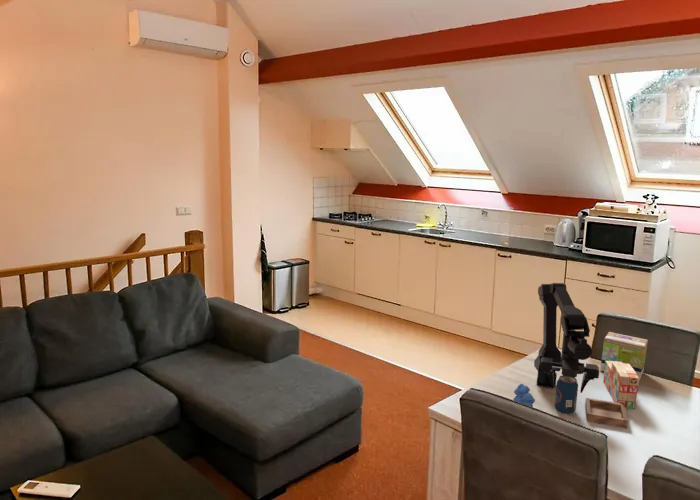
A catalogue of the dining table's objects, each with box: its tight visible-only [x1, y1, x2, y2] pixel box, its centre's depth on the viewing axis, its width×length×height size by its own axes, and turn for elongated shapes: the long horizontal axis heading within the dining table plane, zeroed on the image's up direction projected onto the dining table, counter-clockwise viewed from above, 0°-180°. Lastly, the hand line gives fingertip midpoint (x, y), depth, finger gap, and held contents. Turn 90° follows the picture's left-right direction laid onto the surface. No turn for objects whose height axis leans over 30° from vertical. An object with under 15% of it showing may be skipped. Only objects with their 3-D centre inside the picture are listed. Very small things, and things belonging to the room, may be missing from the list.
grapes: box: [513, 383, 536, 408], centre depth 185 cm, size 12×7×12 cm, turn 5°
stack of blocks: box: [602, 361, 640, 410], centre depth 202 cm, size 21×6×12 cm, turn 168°
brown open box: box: [584, 397, 629, 429], centre depth 187 cm, size 12×12×3 cm
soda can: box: [554, 374, 579, 415], centre depth 190 cm, size 7×7×12 cm
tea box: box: [599, 331, 649, 381], centre depth 222 cm, size 15×10×15 cm
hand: (566, 390), depth 190 cm, fingers open, 9 cm apart
